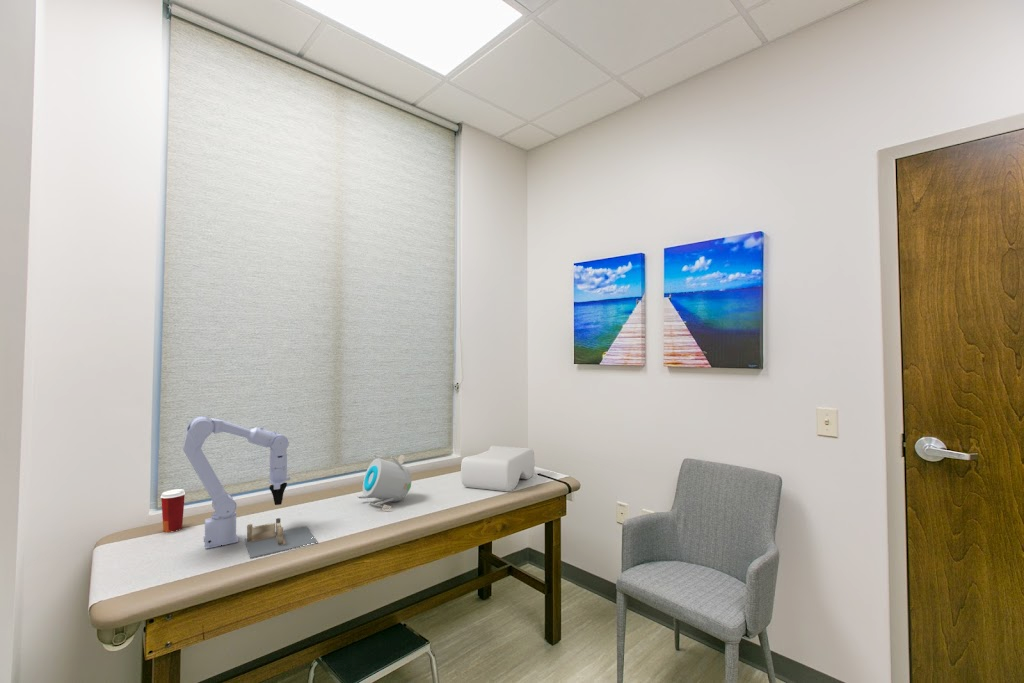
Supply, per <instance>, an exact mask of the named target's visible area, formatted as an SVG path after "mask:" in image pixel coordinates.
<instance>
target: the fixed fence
mask: <svg viewBox="0 0 1024 683" xmlns="http://www.w3.org/2000/svg"><path fill="white" fill-rule="evenodd" d="M275 532H276V522H271V523H266V524H261V525H257V526H255V525H254V526H253V523H252V524H251V523H250V524H247V525H246V538H247V542H250V541H253V540H258V539H263V538H267V537H272V536H275Z"/></svg>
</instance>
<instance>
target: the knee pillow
mask: <svg viewBox="0 0 1024 683" xmlns="http://www.w3.org/2000/svg"><path fill="white" fill-rule="evenodd" d="M535 461H536V460H535V451H534V449H533V448H531V447H517V446H501V445H491V446H490V447H489V449H487V450H486V451H483V452H480V453H478V454H474V455H468V456H465V457H463V458H462V460H461V463H460V466H461V467H460V478H461V479H460V480H461V484H462V485H463V487H464V488H465V487H466V488H469V489H470V488H471V489H480V490H487V491H488V490H490V491H498V492H511V491H514V490H515V489H516V487H517V486H518V484H519V481H520V480H529V479H530V478H532V477H533V475H534V474H535V466H536V464H535V463H536V462H535Z"/></svg>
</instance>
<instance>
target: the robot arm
mask: <svg viewBox="0 0 1024 683" xmlns="http://www.w3.org/2000/svg"><path fill="white" fill-rule="evenodd" d="M212 433H213V434H215V435H217V434H219V433H227V434H231V435H234V436H239V437H243V438H246V439H247V441H248V443H250V444H253V445H257V446H260V447H264V448H270V450H269V452H270V453H269V480H268V483H269V484H270V485H269V491H270V492H271V495H272V497H273V498H272V499H273V504H274V505H275V506H278V505H280V506H281V505H282V503H283V500H284V493H285V491H286V488H287V485H288V481H291V476H289V477H288V453H287V452H288V451H287V450H288V447H289V446H290V442H289V440H288V438H287V437H286V436H285V435H283V434H281V433H278V432H277V431H275V430H273V431H270V430H267V429H265V428H264V427H262V426H259V427H257V426H255V427H253V428H248V427H244V426H241V425H238V424H235V423H232V422H230V421H227V420H223V419H218V418H213V417H207V416H201V415H200V416H199V415H198V416H196V417H194V418H193V419H192V420H191V421H190V422H189V423H188V426H187V427H186V430H185V437H184V441H183V446H182V450H183V452H184V454H185V456H186V458H187V459H188V461H189V462H190V464H191V466H192V468H193V470H194V471H195V474H197V476H198V478H199V480H200V481H201V483H202V485H203V487H204V488H205V490H206V492H207V494H208V496H209V497H210V499H211V501H212V503H211V506H212V508H213V510H214V512H213V514H212V515H211V517H209V518H205V519H204V536H203V542H204V549H205V550H206V549H211V548H216V547H221V545H222V546H226V545H230V544H235V543H238V542H239V537H238V534H237V502H236V501H235V500H234V498H233V496H232V494H229V493H228V492H226V489H225V488H224V487H223V485H222V483H221V482H220V479H219V478H218V476H217V474H216V473H215V471H214V469H213V467H212V466H211V464H210V462H209V461H208V459H207V456H206V455H205V453H204V452H203V450H202V447H203V445H204V444H205V441H206V440H207V438H208V437H210V436H211V435H212Z"/></svg>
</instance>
